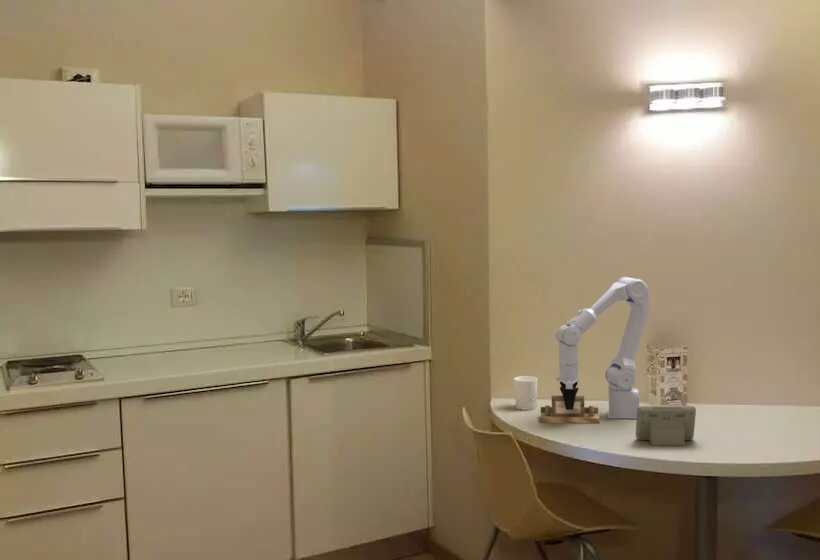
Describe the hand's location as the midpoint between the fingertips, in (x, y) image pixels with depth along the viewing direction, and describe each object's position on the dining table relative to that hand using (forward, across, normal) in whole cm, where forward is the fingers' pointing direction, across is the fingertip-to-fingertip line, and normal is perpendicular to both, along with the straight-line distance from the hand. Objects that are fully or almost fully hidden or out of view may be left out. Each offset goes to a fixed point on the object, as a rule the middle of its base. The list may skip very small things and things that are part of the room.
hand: (569, 406), depth 250 cm
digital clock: (+5, +21, +26) cm, 34 cm away
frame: (+3, 0, 0) cm, 3 cm away
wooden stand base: (+4, 0, 0) cm, 4 cm away
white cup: (+5, -15, -14) cm, 21 cm away
